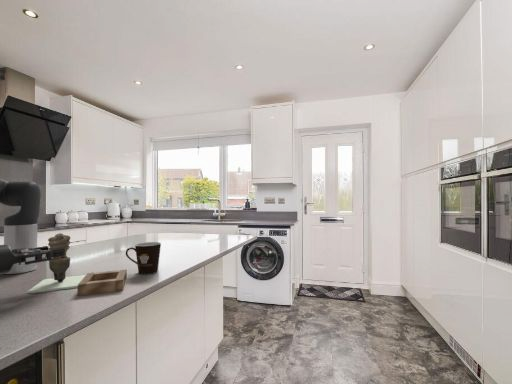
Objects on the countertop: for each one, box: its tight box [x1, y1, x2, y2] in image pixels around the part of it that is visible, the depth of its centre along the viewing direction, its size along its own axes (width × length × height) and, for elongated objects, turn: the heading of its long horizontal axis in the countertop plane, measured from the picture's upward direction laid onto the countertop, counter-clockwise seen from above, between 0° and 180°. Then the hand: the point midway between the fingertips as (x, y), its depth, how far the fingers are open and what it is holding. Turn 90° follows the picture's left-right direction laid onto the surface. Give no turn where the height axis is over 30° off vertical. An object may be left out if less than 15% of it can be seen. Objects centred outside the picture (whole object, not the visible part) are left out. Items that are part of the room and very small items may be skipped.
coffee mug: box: [125, 241, 162, 275], centre depth 94 cm, size 12×9×10 cm
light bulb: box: [47, 232, 71, 282], centre depth 81 cm, size 6×6×15 cm
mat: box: [27, 274, 87, 294], centre depth 80 cm, size 12×12×1 cm
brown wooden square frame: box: [77, 269, 128, 297], centre depth 78 cm, size 11×12×3 cm
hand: (55, 250), depth 79 cm, fingers open, 8 cm apart
